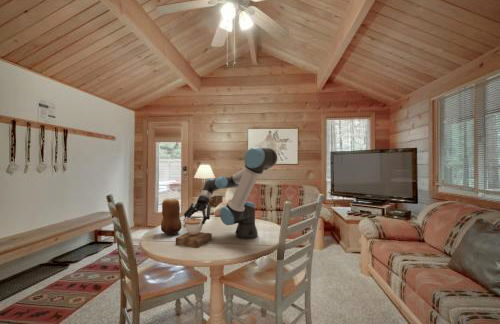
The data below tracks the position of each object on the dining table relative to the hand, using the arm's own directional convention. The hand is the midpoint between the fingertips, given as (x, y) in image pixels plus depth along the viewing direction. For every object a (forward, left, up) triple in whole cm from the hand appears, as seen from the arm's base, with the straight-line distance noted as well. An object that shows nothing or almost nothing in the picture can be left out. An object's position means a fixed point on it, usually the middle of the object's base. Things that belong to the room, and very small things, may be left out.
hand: (191, 227), depth 160 cm
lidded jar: (0, -3, -4) cm, 5 cm away
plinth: (0, -3, -10) cm, 10 cm away
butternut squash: (+24, -12, -10) cm, 29 cm away
